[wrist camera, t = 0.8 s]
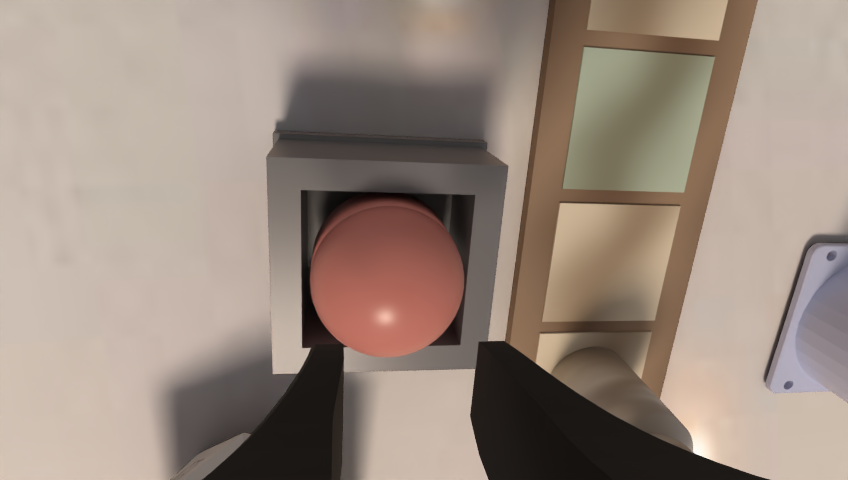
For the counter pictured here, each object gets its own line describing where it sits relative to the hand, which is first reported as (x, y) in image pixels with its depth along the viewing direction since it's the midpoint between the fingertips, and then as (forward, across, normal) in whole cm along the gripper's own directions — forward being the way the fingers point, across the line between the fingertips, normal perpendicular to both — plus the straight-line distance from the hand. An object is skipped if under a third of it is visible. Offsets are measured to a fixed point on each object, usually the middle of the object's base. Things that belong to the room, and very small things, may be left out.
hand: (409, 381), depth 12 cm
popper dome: (+8, 0, 0) cm, 8 cm away
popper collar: (+10, 0, 0) cm, 10 cm away
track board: (+10, -10, -2) cm, 15 cm away
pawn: (+10, -10, +7) cm, 16 cm away
